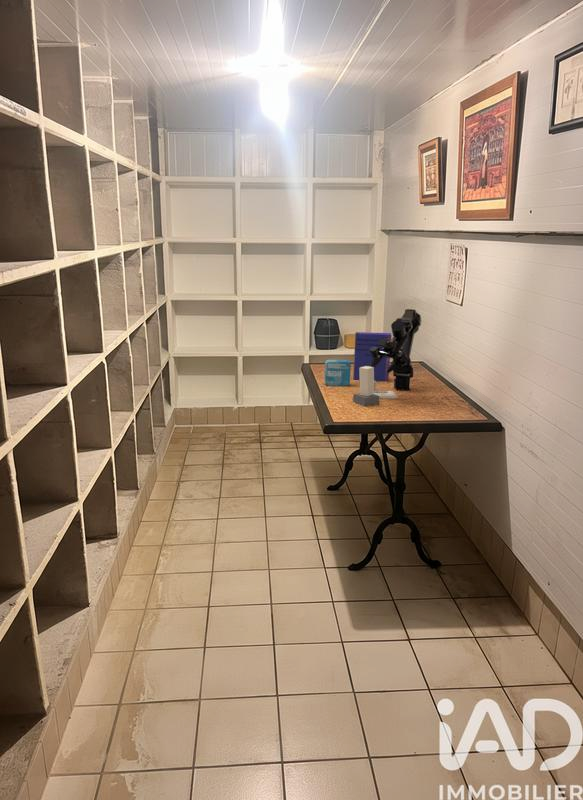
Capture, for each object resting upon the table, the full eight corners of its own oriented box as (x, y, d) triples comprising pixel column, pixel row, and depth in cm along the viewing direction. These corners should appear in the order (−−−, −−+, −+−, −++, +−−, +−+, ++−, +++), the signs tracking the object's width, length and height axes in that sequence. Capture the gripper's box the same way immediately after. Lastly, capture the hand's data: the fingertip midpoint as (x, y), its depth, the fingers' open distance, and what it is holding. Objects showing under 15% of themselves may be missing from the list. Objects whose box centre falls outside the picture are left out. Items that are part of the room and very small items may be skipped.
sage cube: (371, 389, 288) (371, 379, 287) (375, 391, 284) (376, 381, 282) (361, 389, 287) (362, 379, 286) (365, 392, 282) (366, 381, 281)
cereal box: (387, 379, 309) (390, 332, 303) (388, 381, 305) (391, 334, 298) (353, 378, 310) (355, 331, 303) (353, 380, 305) (356, 333, 299)
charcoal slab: (367, 400, 269) (367, 391, 268) (378, 404, 262) (379, 395, 261) (352, 402, 265) (353, 393, 264) (364, 407, 258) (364, 398, 257)
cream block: (366, 392, 266) (365, 366, 263) (374, 394, 263) (373, 367, 260) (359, 394, 263) (359, 367, 260) (367, 396, 260) (367, 368, 257)
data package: (325, 385, 293) (326, 361, 290) (324, 383, 297) (325, 359, 294) (349, 386, 294) (351, 361, 291) (348, 383, 298) (349, 359, 295)
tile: (392, 393, 281) (392, 390, 281) (397, 398, 272) (397, 395, 272) (366, 393, 280) (367, 390, 279) (371, 398, 271) (371, 395, 271)
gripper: (373, 329, 271) (355, 356, 267) (406, 334, 257) (388, 363, 253) (383, 344, 278) (366, 371, 274) (416, 350, 264) (398, 378, 260)
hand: (379, 370), depth 265 cm, fingers open, 9 cm apart
